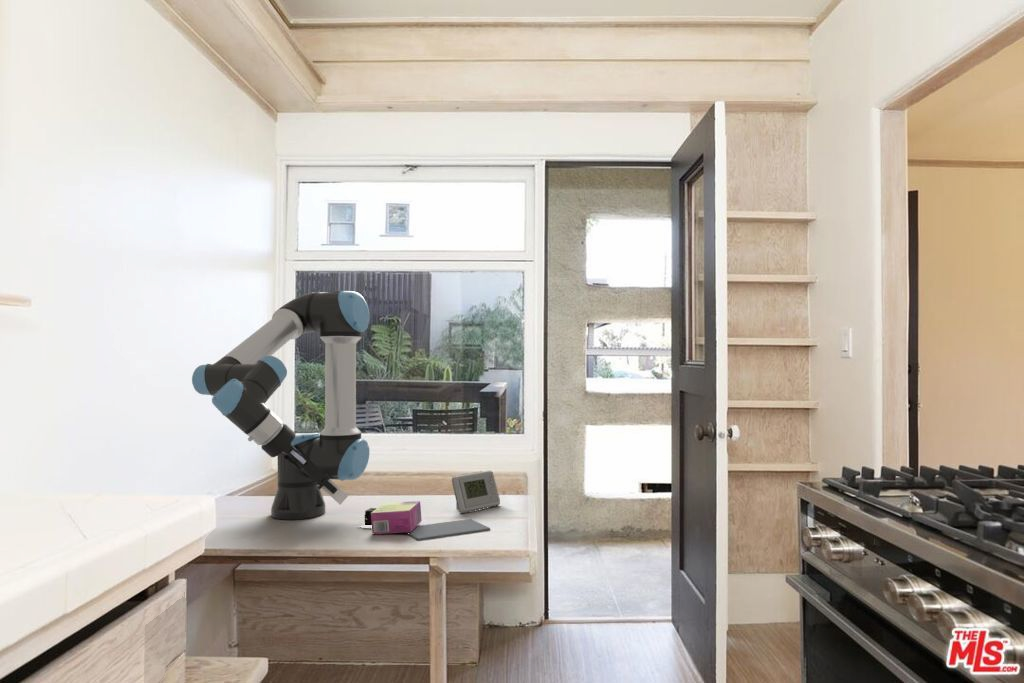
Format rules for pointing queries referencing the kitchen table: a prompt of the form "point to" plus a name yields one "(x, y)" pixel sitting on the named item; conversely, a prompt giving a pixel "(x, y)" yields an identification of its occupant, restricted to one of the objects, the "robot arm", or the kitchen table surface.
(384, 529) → the box
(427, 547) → the kitchen table surface
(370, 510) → the black slotted mount bracket
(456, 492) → the digital clock
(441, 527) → the mat
